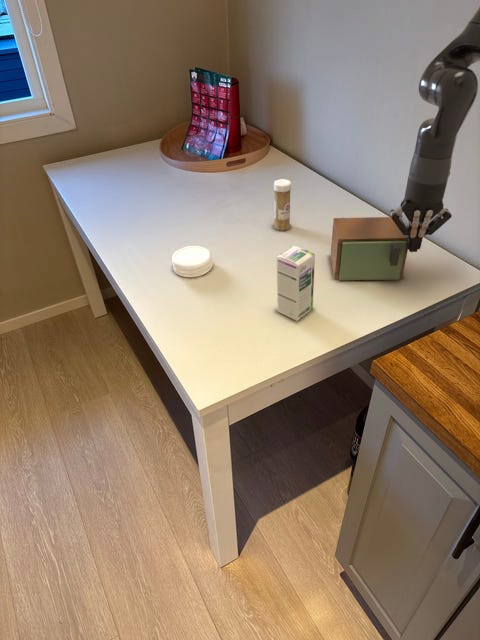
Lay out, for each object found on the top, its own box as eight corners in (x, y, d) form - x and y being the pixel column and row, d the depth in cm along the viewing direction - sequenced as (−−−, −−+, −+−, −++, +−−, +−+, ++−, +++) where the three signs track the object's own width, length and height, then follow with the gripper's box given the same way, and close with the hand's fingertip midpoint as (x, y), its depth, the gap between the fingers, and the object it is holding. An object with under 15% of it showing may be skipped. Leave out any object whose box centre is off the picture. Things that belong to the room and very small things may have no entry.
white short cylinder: (187, 253, 129) (185, 241, 126) (219, 261, 125) (218, 249, 122) (165, 272, 122) (163, 260, 120) (199, 282, 118) (198, 269, 116)
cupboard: (393, 256, 123) (401, 216, 116) (402, 278, 115) (410, 237, 108) (330, 256, 124) (333, 218, 117) (334, 279, 116) (338, 238, 109)
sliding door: (398, 277, 115) (405, 240, 108) (401, 285, 112) (409, 248, 106) (338, 278, 116) (342, 241, 109) (340, 286, 113) (344, 249, 107)
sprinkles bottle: (285, 232, 135) (285, 186, 126) (270, 228, 137) (270, 183, 128) (293, 225, 138) (294, 180, 129) (279, 221, 140) (279, 177, 131)
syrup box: (297, 322, 105) (299, 265, 95) (276, 311, 108) (276, 255, 99) (313, 309, 108) (316, 253, 99) (291, 299, 111) (293, 244, 102)
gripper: (456, 167, 99) (438, 241, 110) (391, 168, 100) (379, 241, 111) (468, 182, 93) (447, 259, 104) (398, 183, 94) (385, 259, 105)
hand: (412, 250), depth 108 cm, fingers closed
